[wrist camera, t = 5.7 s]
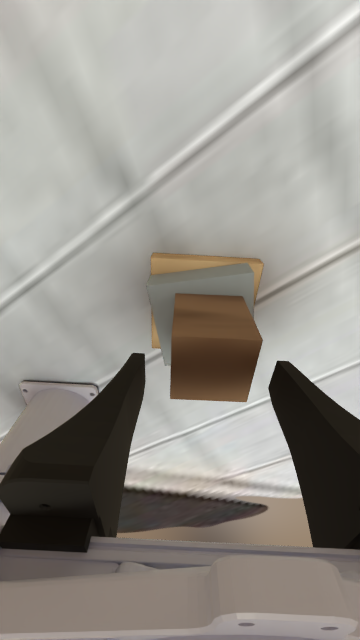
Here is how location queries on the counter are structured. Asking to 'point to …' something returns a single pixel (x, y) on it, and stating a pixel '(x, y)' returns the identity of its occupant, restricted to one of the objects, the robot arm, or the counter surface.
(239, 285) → the gray slab
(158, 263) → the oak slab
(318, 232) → the counter surface
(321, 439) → the robot arm
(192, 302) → the walnut block
